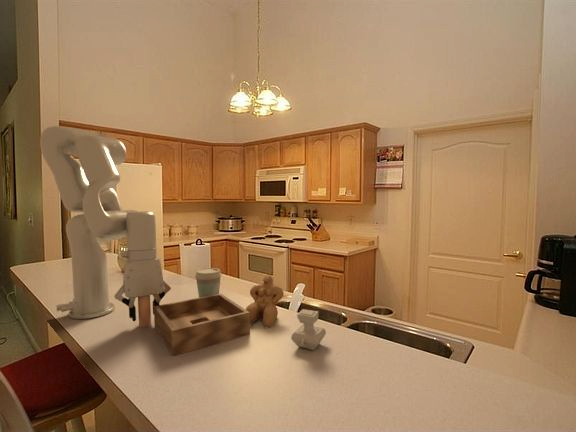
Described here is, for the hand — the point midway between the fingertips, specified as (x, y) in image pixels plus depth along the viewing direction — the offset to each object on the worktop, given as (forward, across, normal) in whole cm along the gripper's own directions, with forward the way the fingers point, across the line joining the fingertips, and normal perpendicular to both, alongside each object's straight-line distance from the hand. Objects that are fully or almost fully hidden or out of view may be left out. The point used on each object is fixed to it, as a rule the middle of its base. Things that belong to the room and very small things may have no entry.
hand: (144, 316), depth 92 cm
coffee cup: (+3, +21, +5) cm, 22 cm away
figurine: (+3, +30, -16) cm, 34 cm away
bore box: (+2, +12, -13) cm, 18 cm away
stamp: (+3, +31, -37) cm, 48 cm away
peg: (+2, 0, 0) cm, 2 cm away
